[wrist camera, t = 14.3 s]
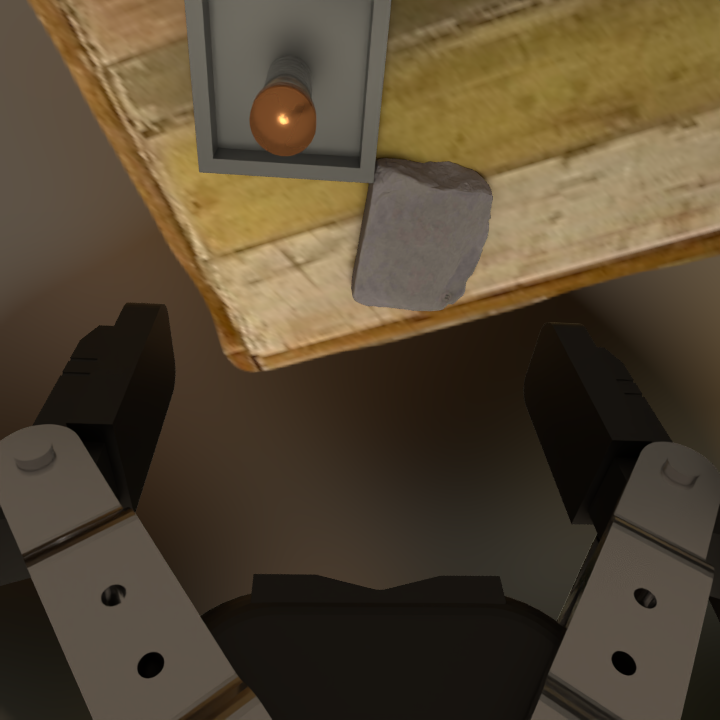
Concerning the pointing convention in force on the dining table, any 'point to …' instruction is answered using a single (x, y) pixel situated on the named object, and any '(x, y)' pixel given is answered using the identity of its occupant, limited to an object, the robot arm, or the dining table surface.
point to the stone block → (420, 234)
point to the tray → (249, 71)
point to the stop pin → (285, 108)
